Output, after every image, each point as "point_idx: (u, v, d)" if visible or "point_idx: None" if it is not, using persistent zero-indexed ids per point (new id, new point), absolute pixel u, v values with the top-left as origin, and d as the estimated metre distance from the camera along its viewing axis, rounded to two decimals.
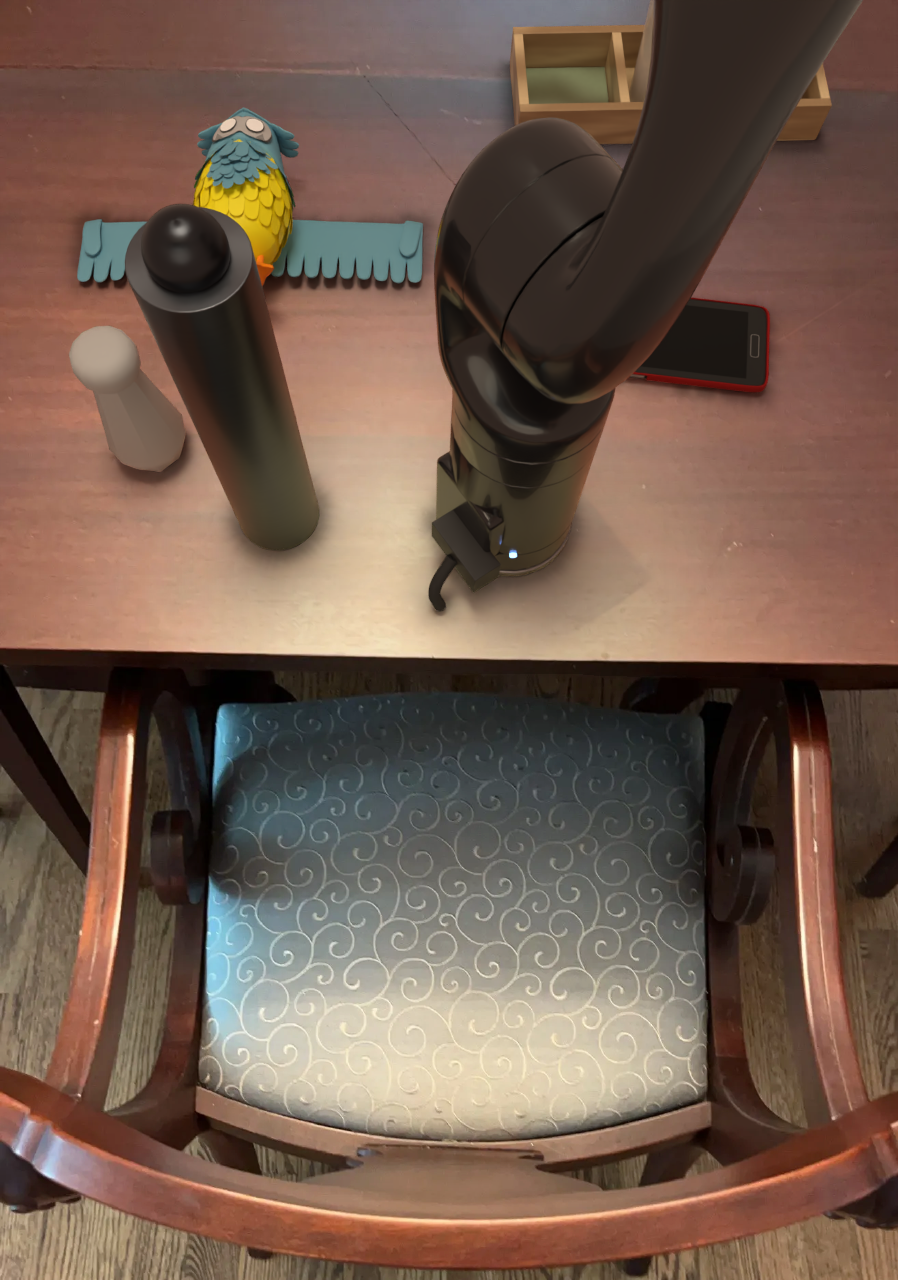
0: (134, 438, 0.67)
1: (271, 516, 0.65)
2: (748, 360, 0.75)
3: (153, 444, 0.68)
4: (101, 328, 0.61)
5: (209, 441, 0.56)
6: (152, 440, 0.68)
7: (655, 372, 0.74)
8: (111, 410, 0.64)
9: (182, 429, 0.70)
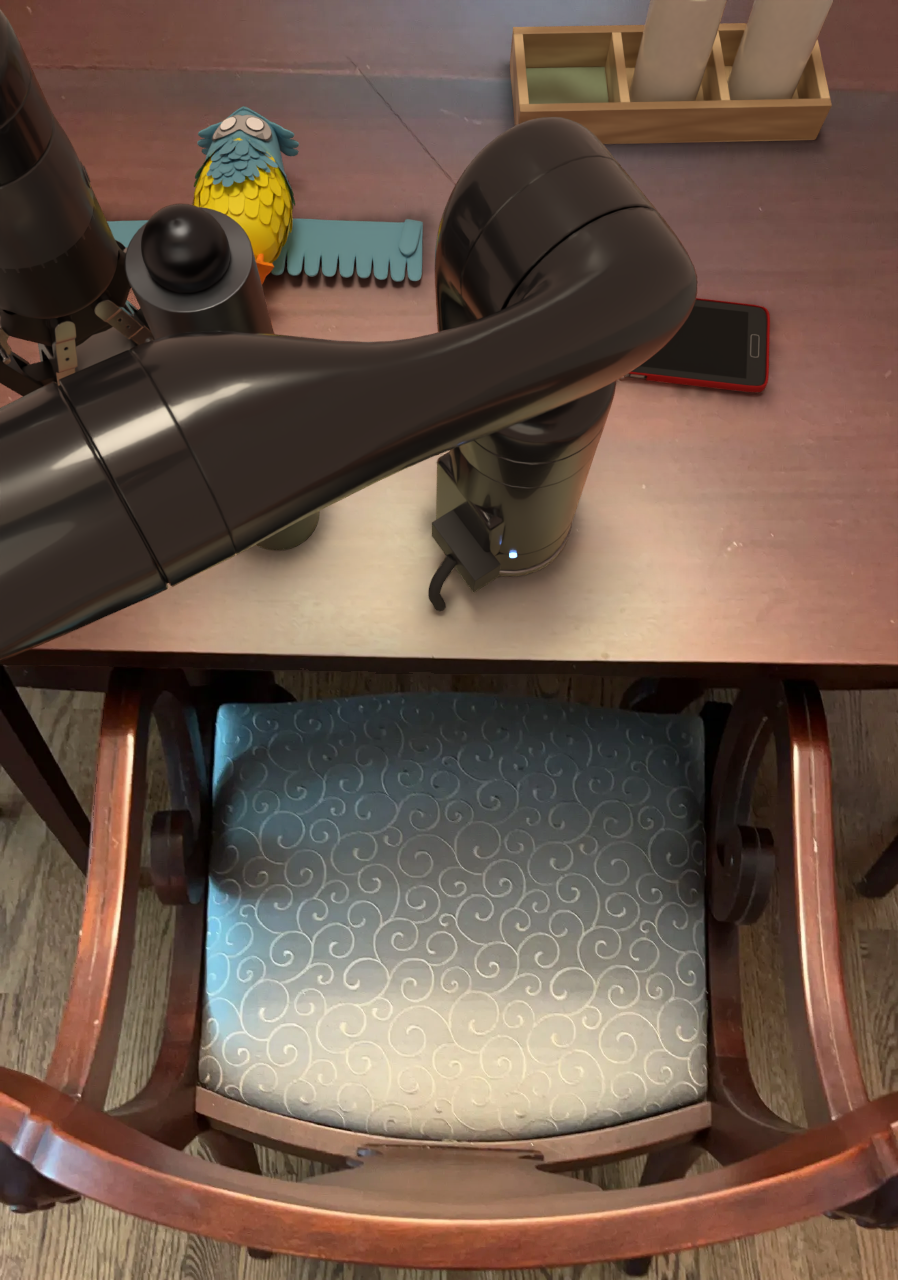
0: None
1: None
2: (748, 360, 0.75)
3: None
4: None
5: None
6: None
7: (655, 372, 0.74)
8: None
9: None
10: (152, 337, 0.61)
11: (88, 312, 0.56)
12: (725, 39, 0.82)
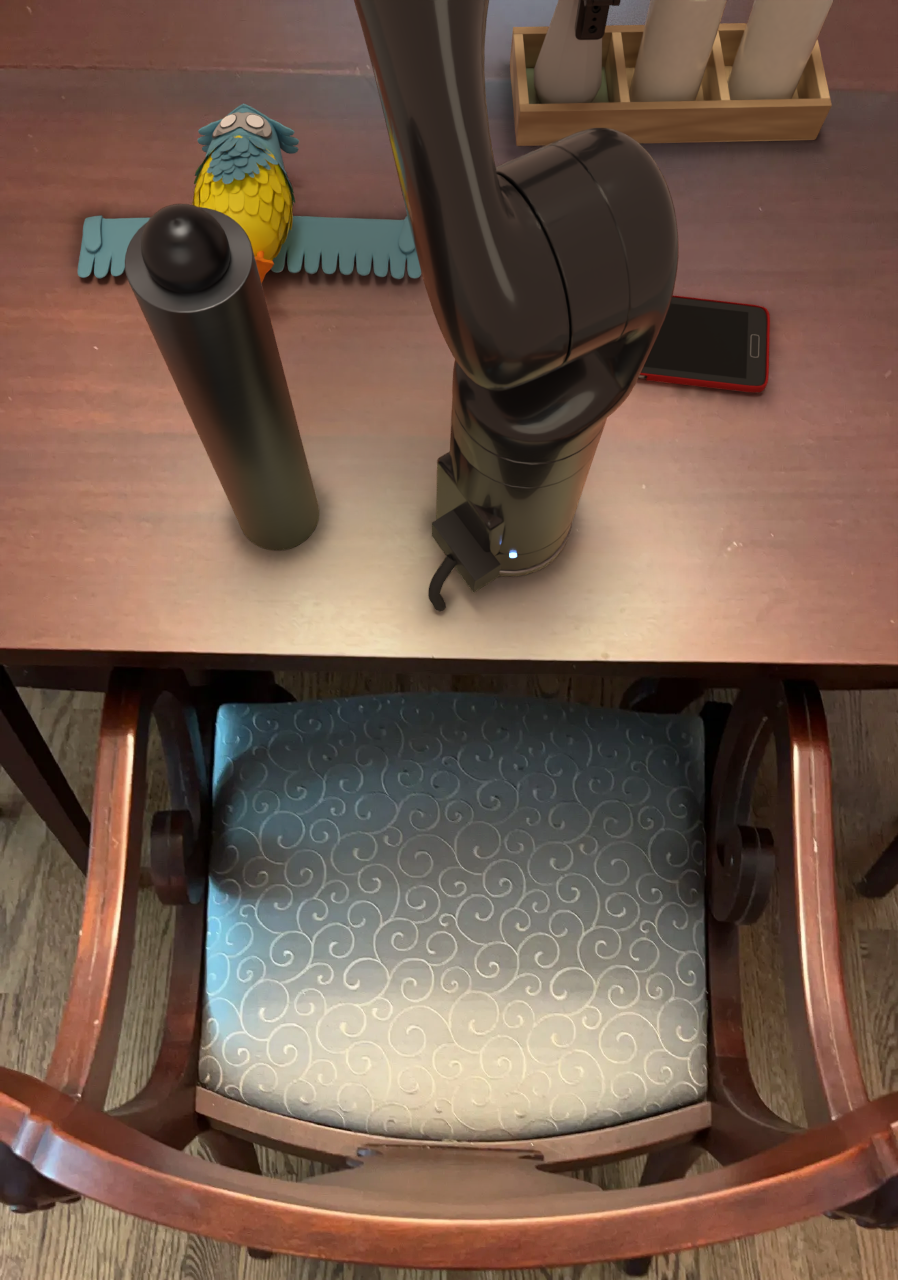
0: (599, 52, 0.77)
1: (271, 516, 0.65)
2: (748, 360, 0.75)
3: None
4: None
5: (209, 441, 0.56)
6: None
7: (655, 372, 0.74)
8: None
9: None
10: None
11: None
12: (725, 39, 0.82)
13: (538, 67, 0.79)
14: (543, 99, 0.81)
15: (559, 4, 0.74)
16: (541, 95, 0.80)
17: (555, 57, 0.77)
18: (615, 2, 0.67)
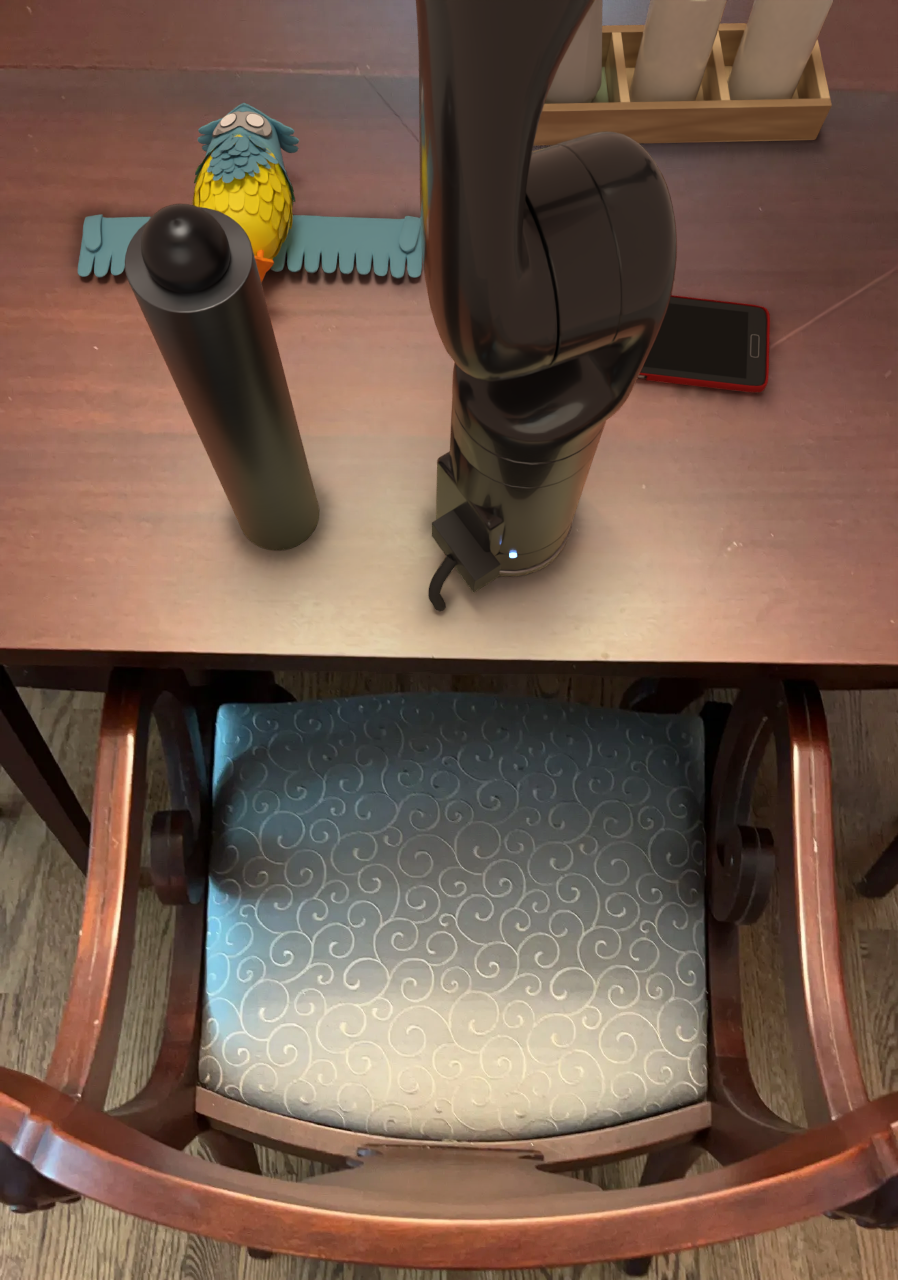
0: (599, 52, 0.77)
1: (271, 516, 0.65)
2: (748, 360, 0.75)
3: None
4: None
5: (209, 441, 0.56)
6: None
7: (655, 372, 0.74)
8: (594, 24, 0.75)
9: None
10: None
11: None
12: (725, 39, 0.82)
13: None
14: None
15: None
16: None
17: None
18: None
